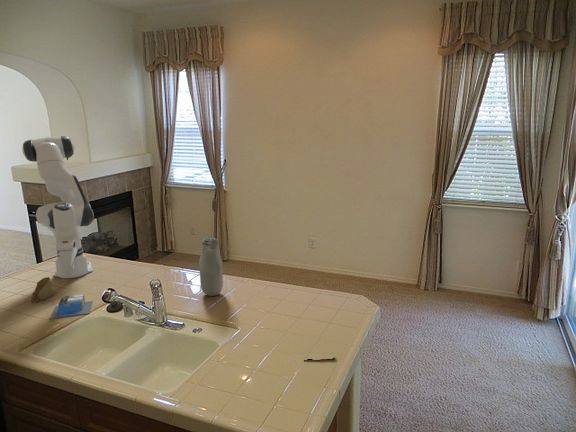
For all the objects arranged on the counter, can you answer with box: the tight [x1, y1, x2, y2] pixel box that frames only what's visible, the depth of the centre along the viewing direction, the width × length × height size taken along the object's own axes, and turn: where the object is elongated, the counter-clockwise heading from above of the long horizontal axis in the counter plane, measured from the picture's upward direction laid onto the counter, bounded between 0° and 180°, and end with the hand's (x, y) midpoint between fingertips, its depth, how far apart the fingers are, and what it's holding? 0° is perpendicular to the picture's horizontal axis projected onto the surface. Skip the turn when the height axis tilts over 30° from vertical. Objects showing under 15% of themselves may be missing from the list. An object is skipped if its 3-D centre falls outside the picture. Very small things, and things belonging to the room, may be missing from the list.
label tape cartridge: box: [57, 293, 86, 317], centre depth 178 cm, size 9×4×12 cm
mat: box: [49, 300, 94, 320], centre depth 178 cm, size 12×15×1 cm
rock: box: [30, 276, 54, 303], centre depth 189 cm, size 11×9×10 cm
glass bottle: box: [198, 236, 224, 297], centre depth 189 cm, size 10×10×28 cm
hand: (71, 269), depth 185 cm, fingers closed
